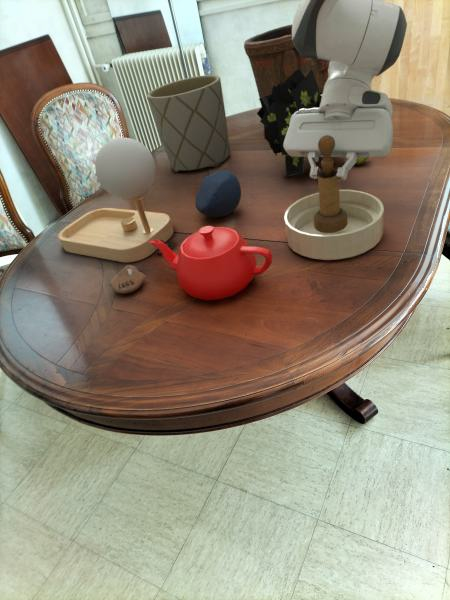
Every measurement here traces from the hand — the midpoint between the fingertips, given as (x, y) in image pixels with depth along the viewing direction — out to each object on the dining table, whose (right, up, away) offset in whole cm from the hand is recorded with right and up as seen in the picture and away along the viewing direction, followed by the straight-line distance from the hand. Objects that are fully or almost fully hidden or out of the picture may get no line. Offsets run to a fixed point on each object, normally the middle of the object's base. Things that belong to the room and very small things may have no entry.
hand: (327, 178), depth 79 cm
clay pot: (+6, +36, +67) cm, 76 cm away
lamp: (-45, -8, +27) cm, 53 cm away
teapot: (-21, -20, +4) cm, 29 cm away
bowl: (+3, -10, +8) cm, 13 cm away
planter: (-27, +23, +61) cm, 71 cm away
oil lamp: (-39, -20, +10) cm, 45 cm away
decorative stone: (-20, -1, +27) cm, 34 cm away
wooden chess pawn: (+2, -8, +7) cm, 11 cm away
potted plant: (+6, +13, +38) cm, 40 cm away
